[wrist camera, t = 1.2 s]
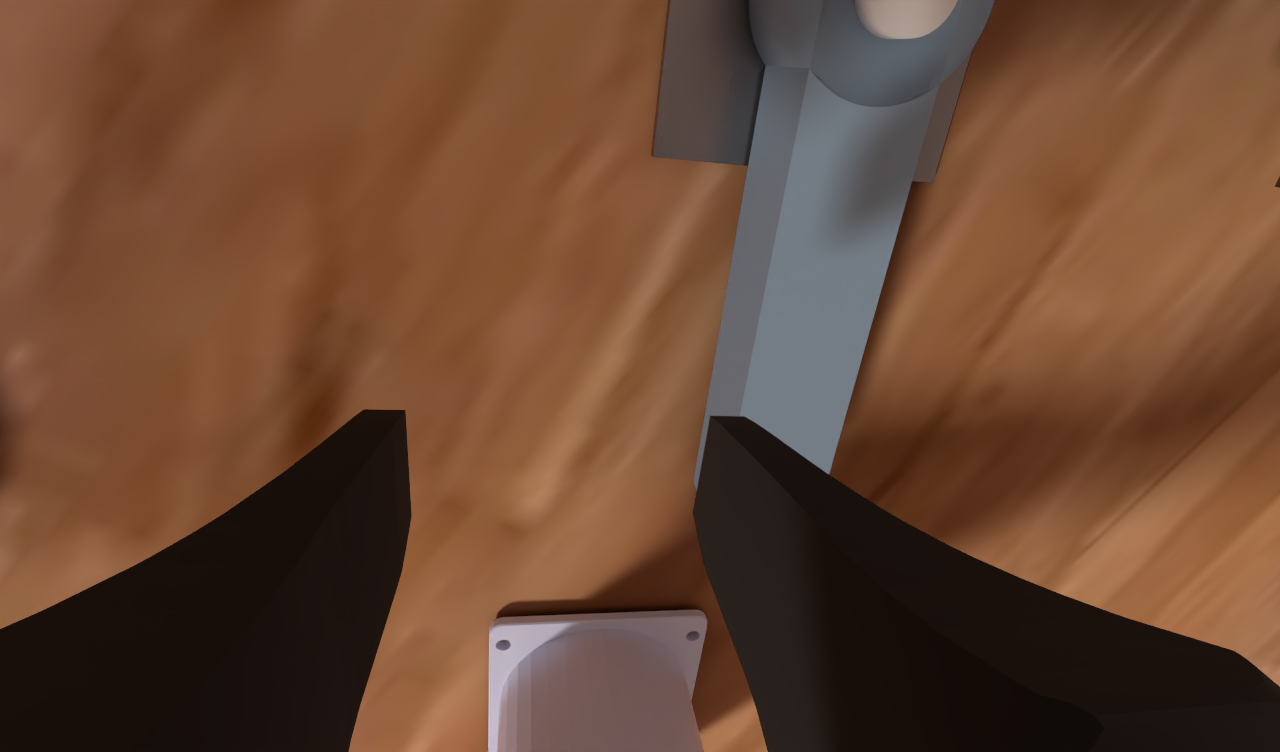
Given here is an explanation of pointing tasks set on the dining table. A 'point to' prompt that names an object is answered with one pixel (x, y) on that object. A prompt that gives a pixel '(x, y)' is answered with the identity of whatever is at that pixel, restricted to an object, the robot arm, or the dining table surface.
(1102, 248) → the dining table surface
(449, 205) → the dining table surface
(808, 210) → the link
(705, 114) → the grey flat square plate
